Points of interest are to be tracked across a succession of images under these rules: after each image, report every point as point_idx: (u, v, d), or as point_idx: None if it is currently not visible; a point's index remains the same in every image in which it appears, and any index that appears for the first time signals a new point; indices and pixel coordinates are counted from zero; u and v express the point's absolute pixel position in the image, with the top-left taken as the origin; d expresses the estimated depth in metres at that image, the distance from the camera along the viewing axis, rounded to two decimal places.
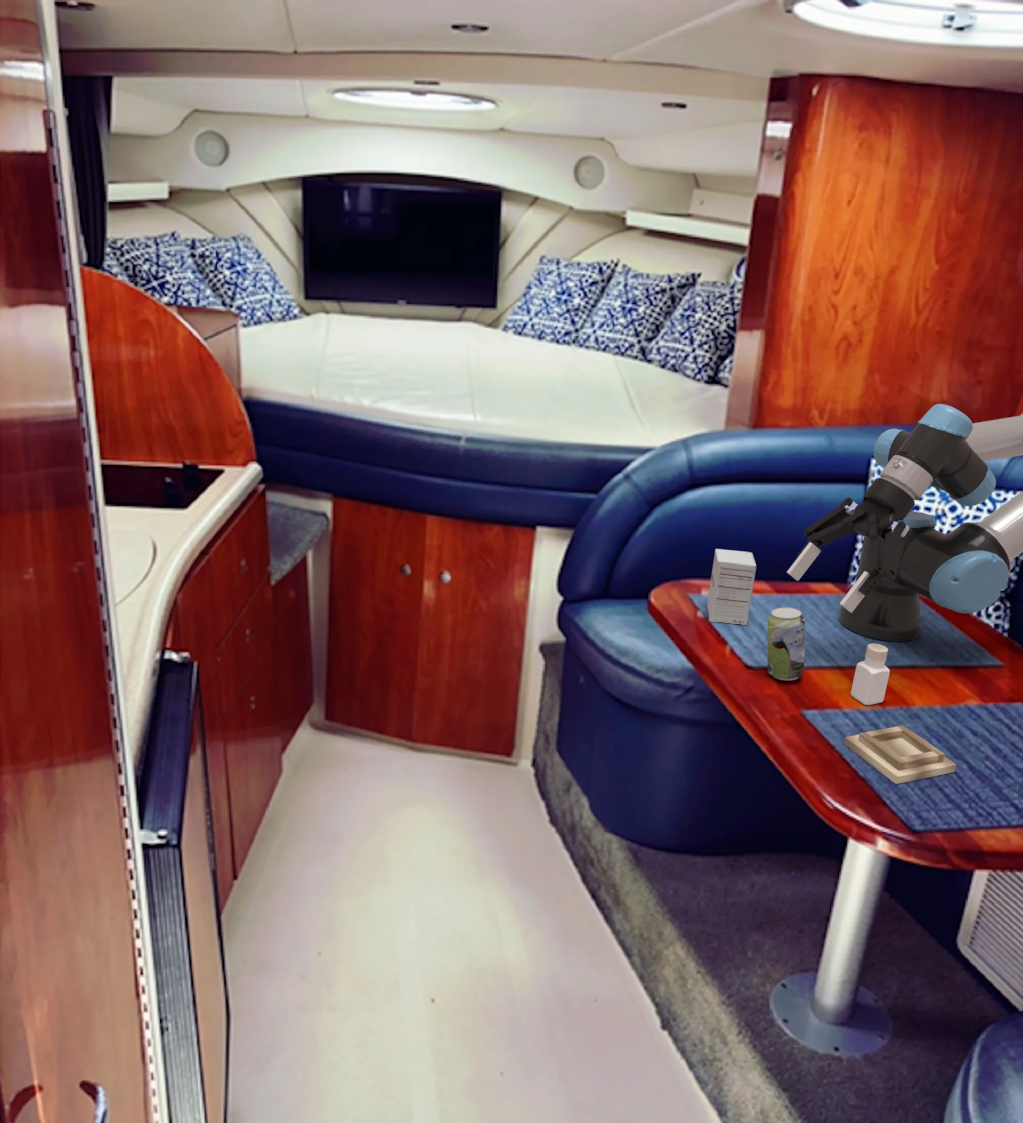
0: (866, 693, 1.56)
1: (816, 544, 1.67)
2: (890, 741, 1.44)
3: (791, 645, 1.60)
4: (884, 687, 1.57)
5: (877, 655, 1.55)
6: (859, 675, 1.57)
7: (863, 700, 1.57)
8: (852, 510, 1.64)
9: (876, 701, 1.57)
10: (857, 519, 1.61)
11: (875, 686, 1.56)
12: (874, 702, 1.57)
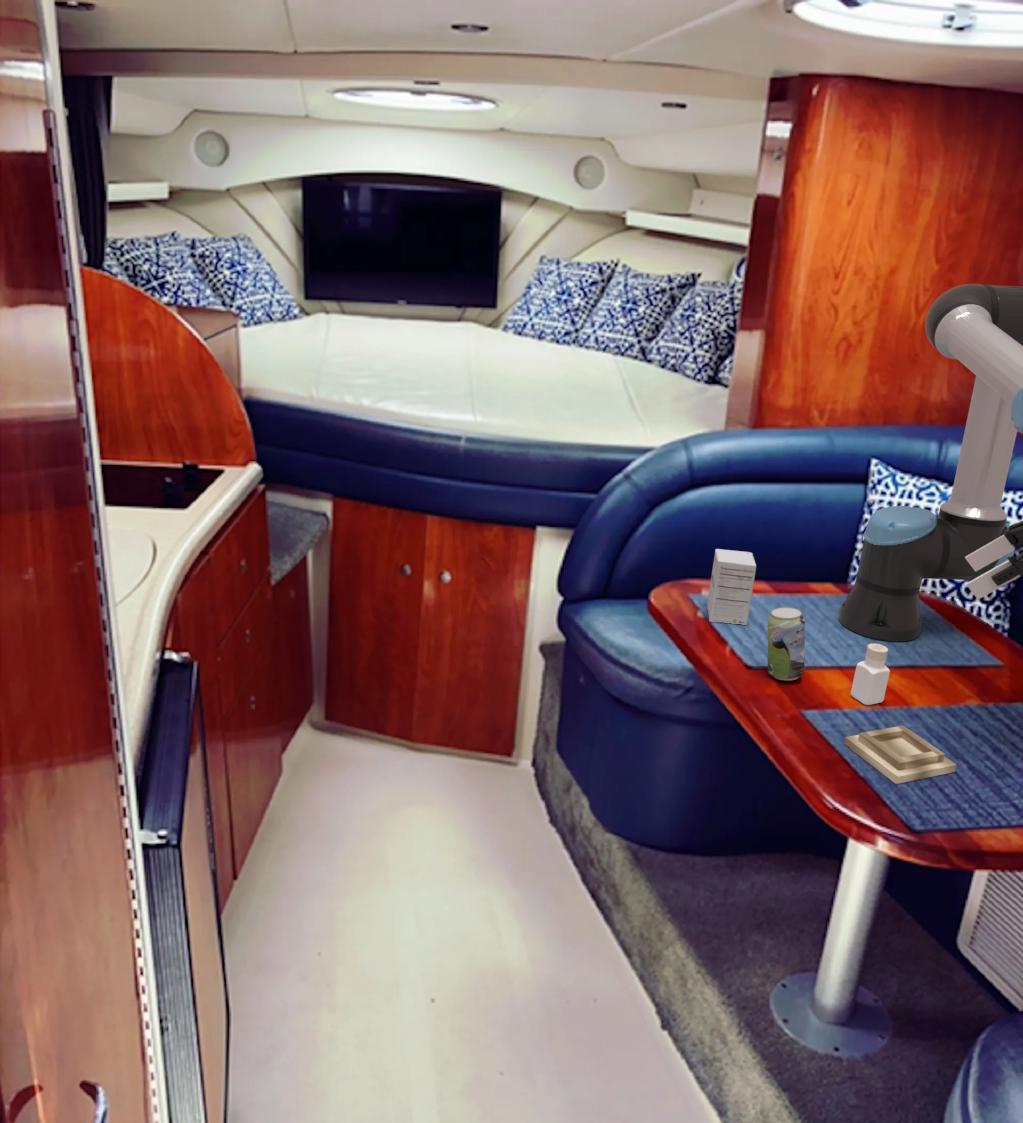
0: (866, 693, 1.56)
1: None
2: (890, 741, 1.44)
3: (791, 645, 1.60)
4: (884, 687, 1.57)
5: (877, 655, 1.55)
6: (859, 675, 1.57)
7: (863, 700, 1.57)
8: None
9: (876, 701, 1.57)
10: None
11: (875, 686, 1.56)
12: (874, 702, 1.57)
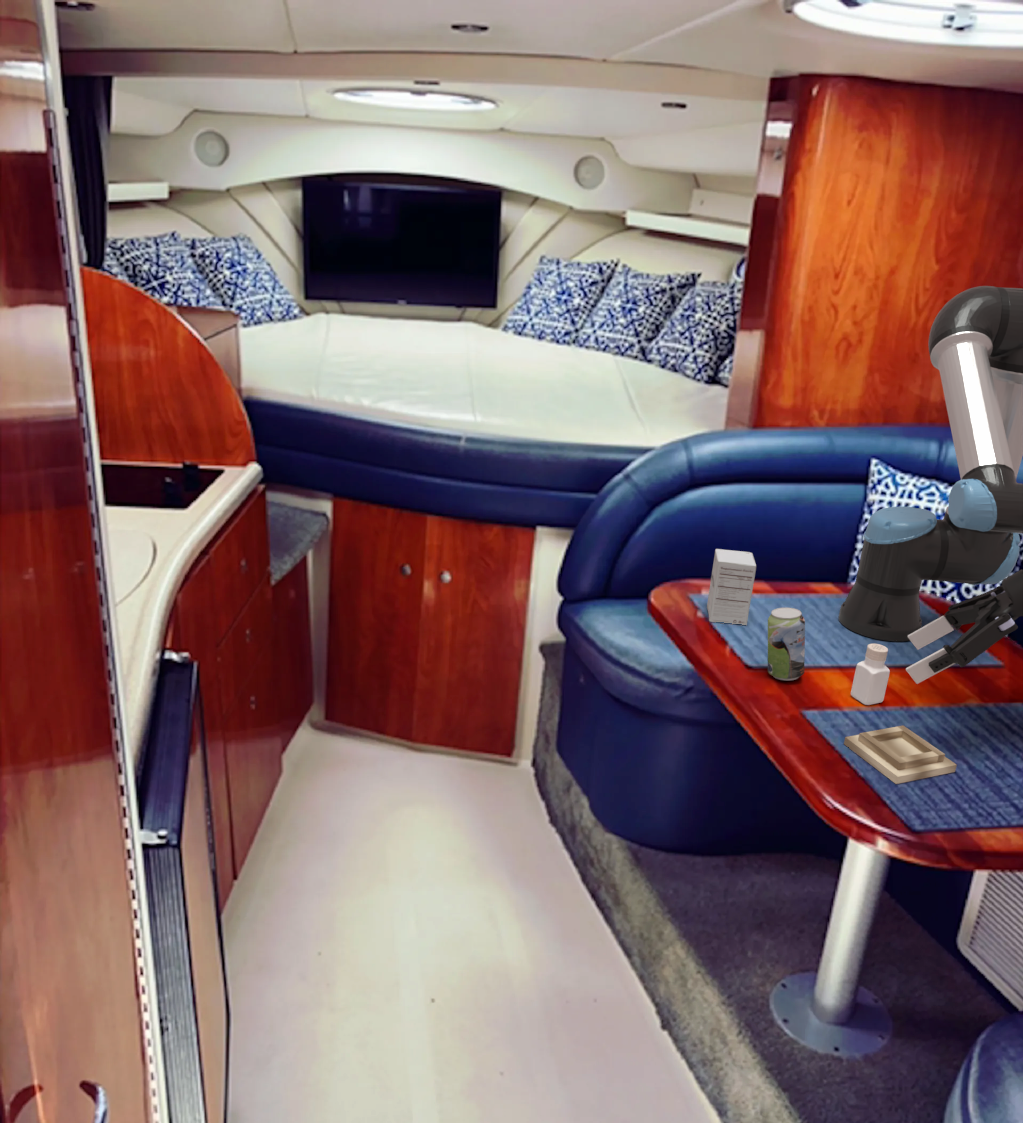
0: (866, 693, 1.56)
1: None
2: (890, 741, 1.44)
3: (791, 645, 1.60)
4: (884, 687, 1.57)
5: (877, 655, 1.55)
6: (859, 675, 1.57)
7: (863, 700, 1.57)
8: None
9: (876, 701, 1.57)
10: None
11: (875, 686, 1.56)
12: (874, 702, 1.57)
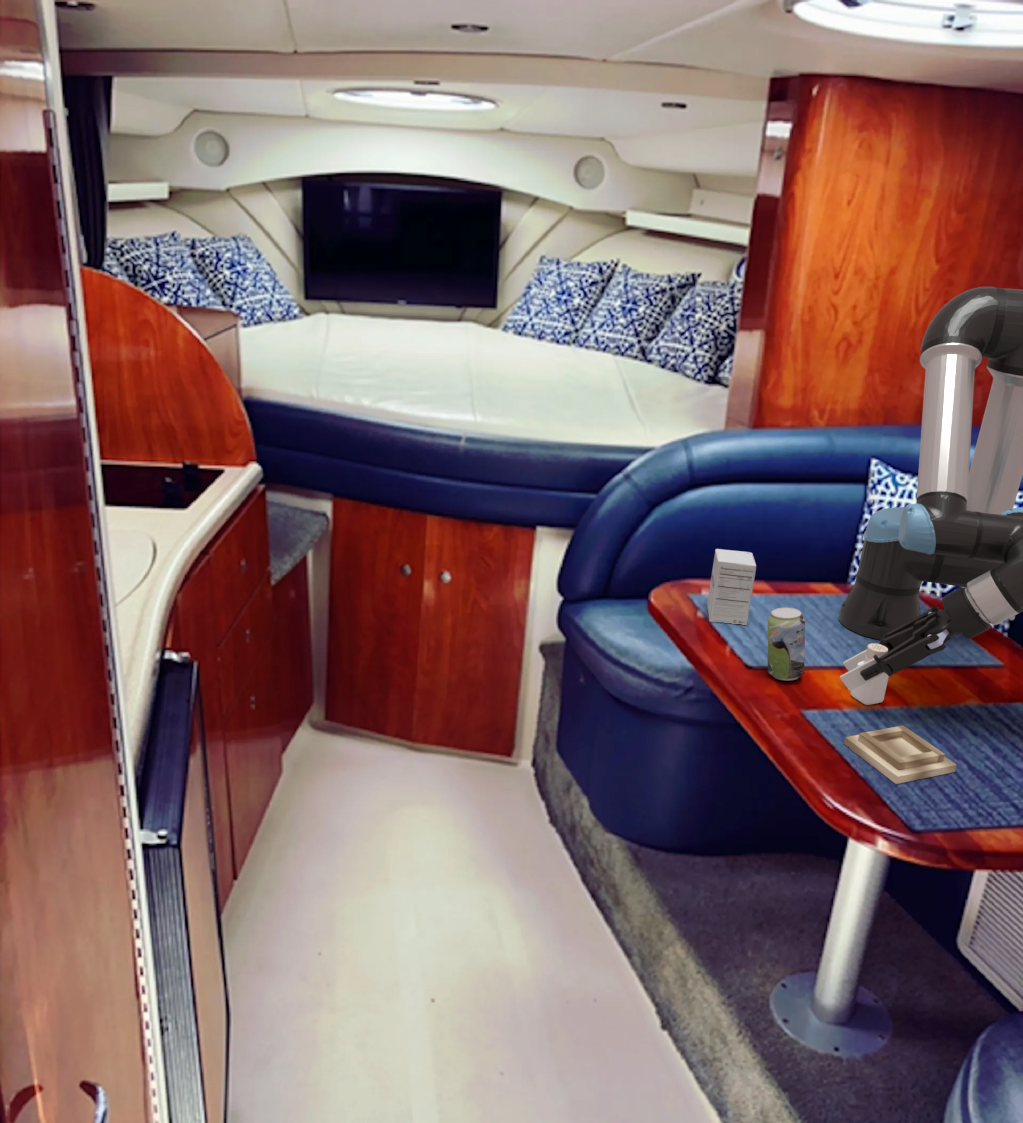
0: (866, 692, 1.56)
1: None
2: (890, 741, 1.44)
3: (791, 645, 1.60)
4: (884, 687, 1.57)
5: (877, 655, 1.55)
6: None
7: (863, 700, 1.57)
8: None
9: (876, 701, 1.57)
10: None
11: (875, 686, 1.56)
12: (874, 702, 1.57)
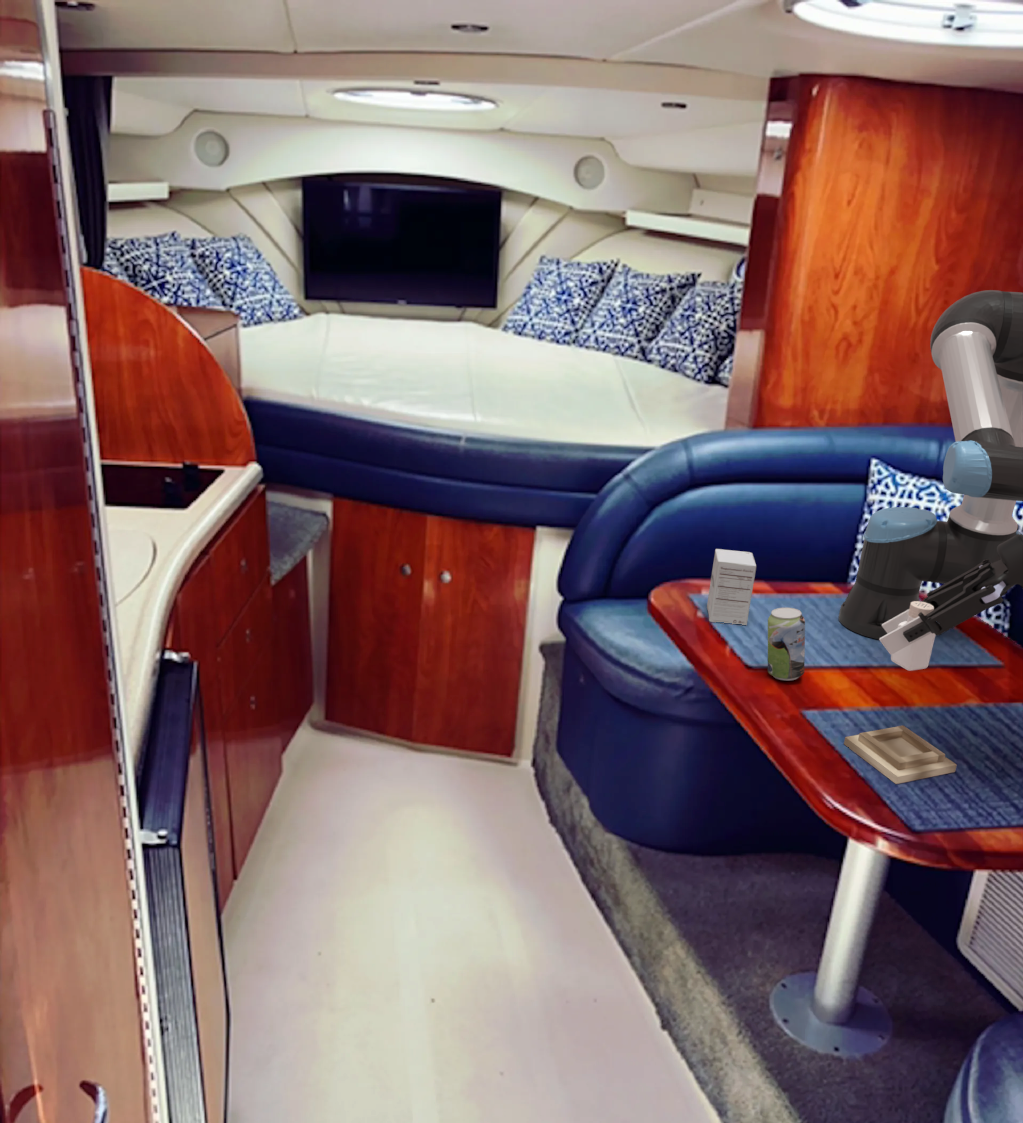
0: (909, 656, 1.38)
1: None
2: (890, 741, 1.44)
3: (791, 645, 1.60)
4: (929, 650, 1.39)
5: None
6: None
7: (905, 665, 1.39)
8: None
9: (920, 666, 1.39)
10: None
11: (920, 649, 1.38)
12: (918, 667, 1.39)
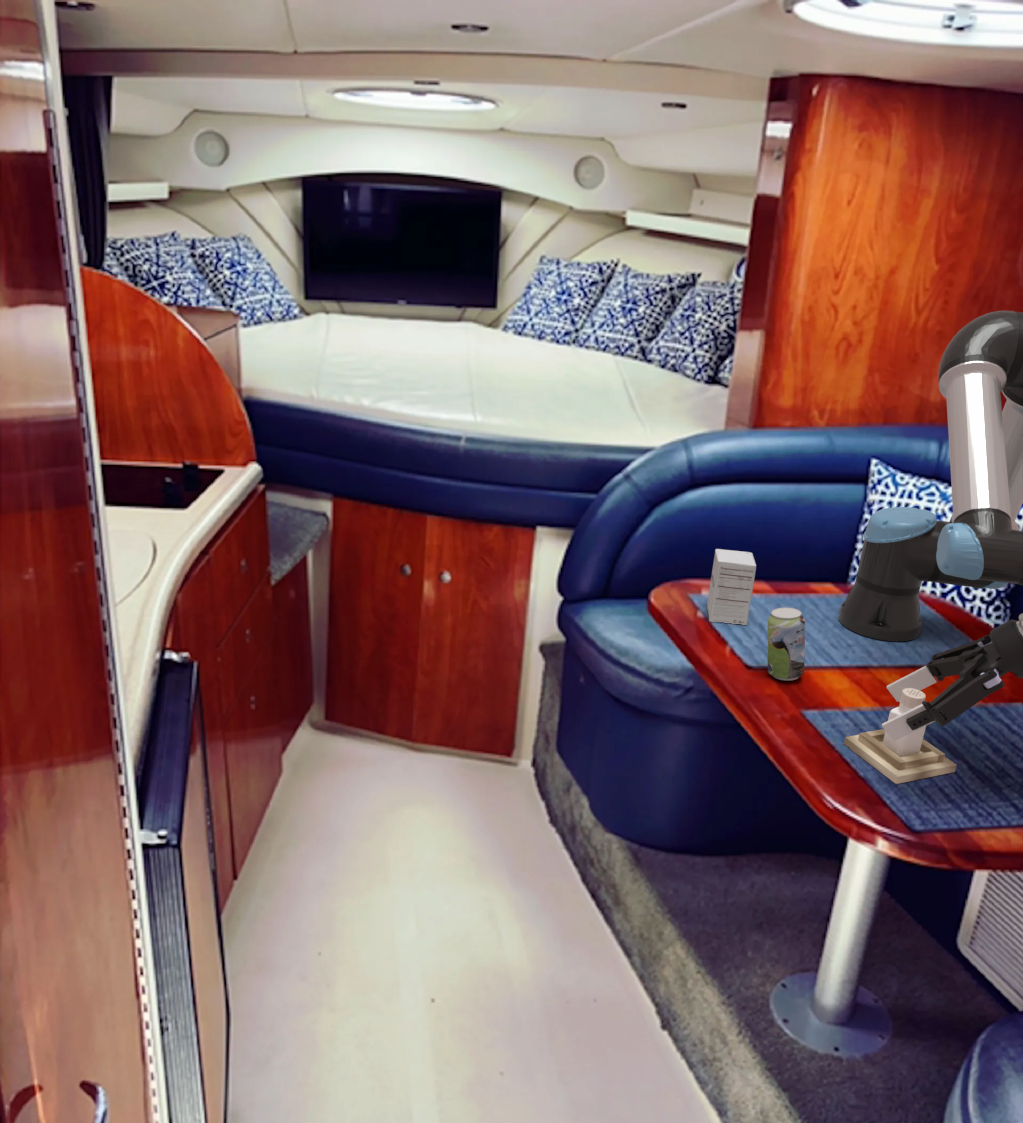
0: (900, 744, 1.39)
1: None
2: None
3: (791, 645, 1.60)
4: (921, 737, 1.40)
5: (914, 702, 1.38)
6: None
7: (897, 752, 1.40)
8: None
9: (912, 753, 1.40)
10: None
11: (911, 736, 1.39)
12: (910, 754, 1.40)
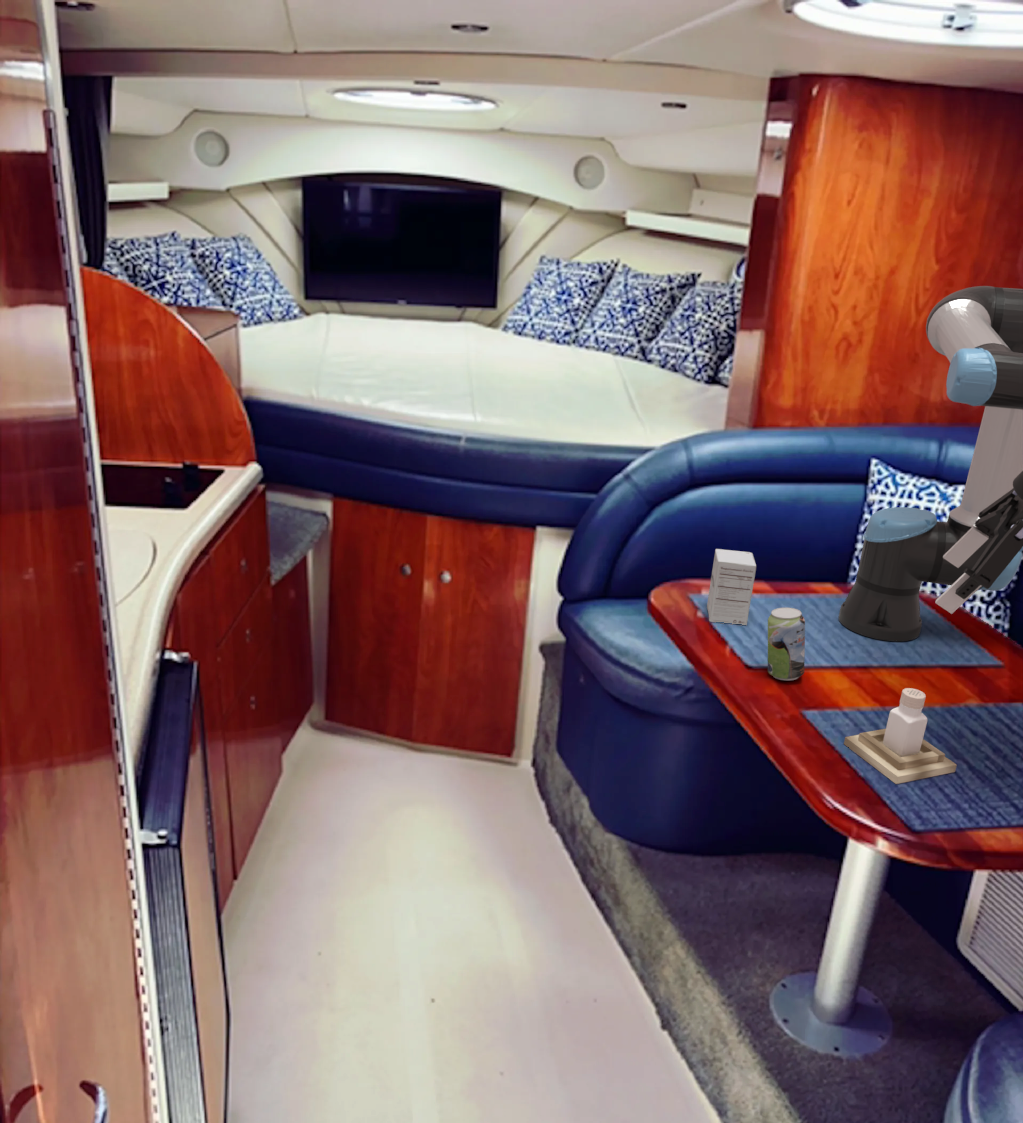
0: (901, 743, 1.39)
1: None
2: None
3: (791, 645, 1.60)
4: (921, 737, 1.40)
5: (914, 702, 1.38)
6: (893, 723, 1.40)
7: (897, 752, 1.40)
8: None
9: (912, 753, 1.40)
10: None
11: (911, 736, 1.39)
12: (910, 754, 1.40)
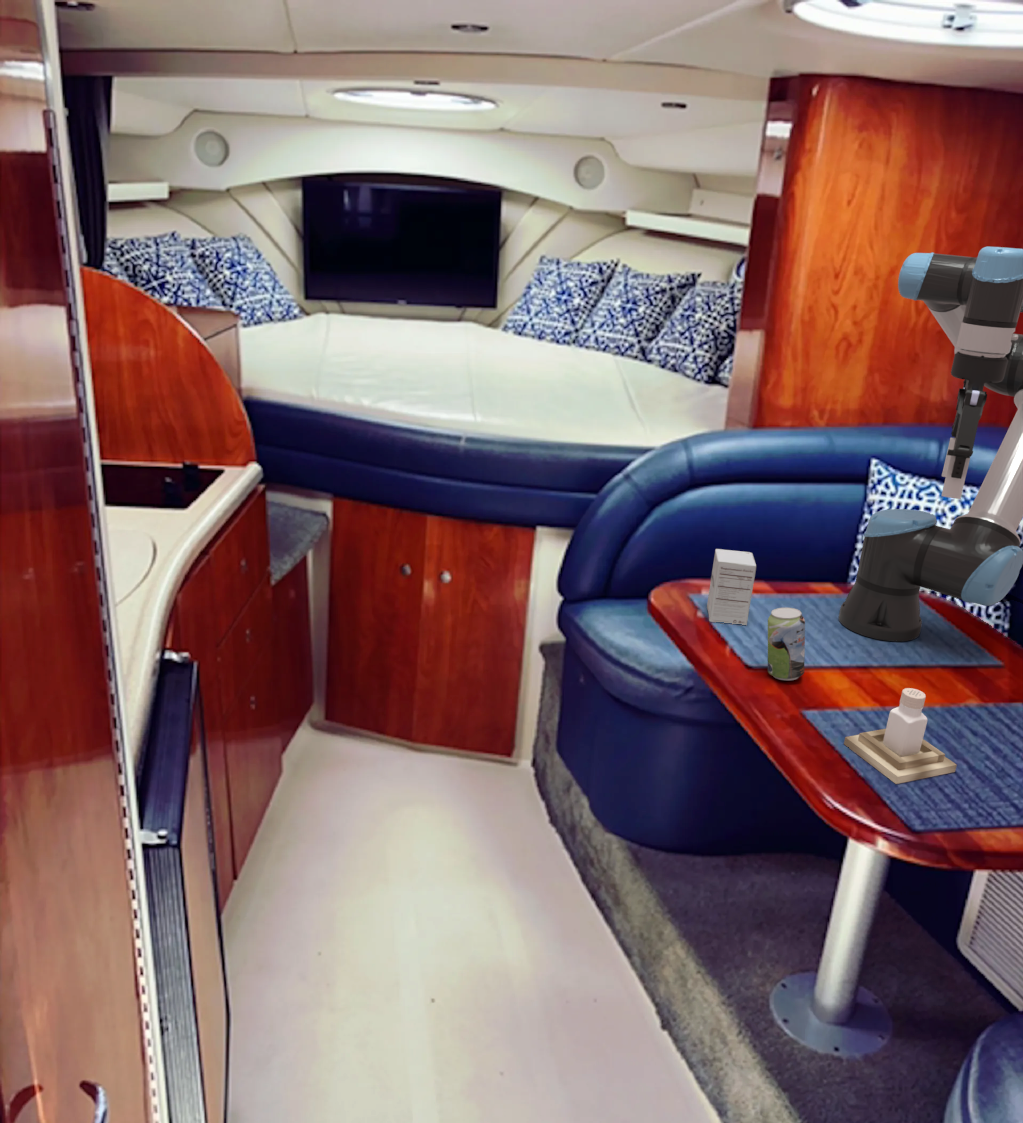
0: (901, 744, 1.39)
1: None
2: None
3: (791, 645, 1.60)
4: (921, 737, 1.40)
5: (914, 702, 1.38)
6: (893, 723, 1.40)
7: (897, 752, 1.40)
8: None
9: (912, 753, 1.40)
10: None
11: (911, 736, 1.39)
12: (910, 754, 1.40)
